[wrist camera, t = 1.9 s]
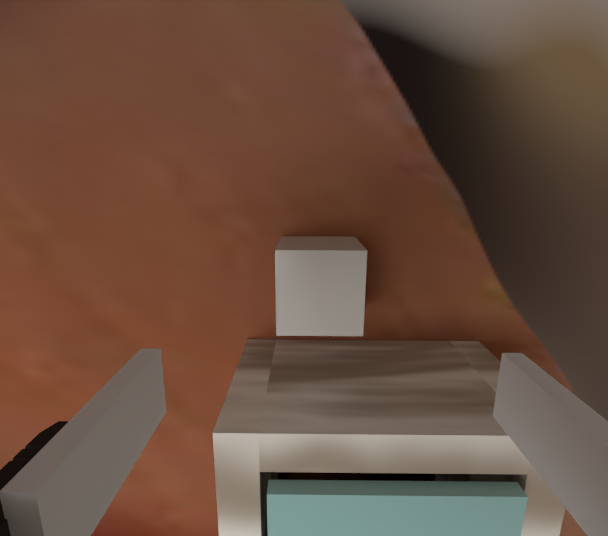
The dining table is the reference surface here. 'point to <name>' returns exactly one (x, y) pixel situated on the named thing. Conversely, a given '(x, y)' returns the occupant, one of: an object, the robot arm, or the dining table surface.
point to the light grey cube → (320, 286)
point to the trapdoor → (394, 508)
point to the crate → (365, 422)
